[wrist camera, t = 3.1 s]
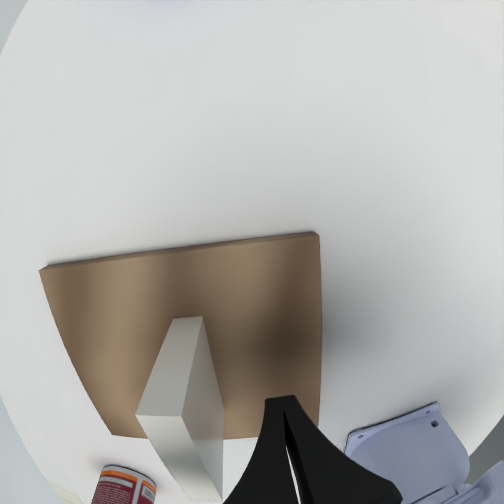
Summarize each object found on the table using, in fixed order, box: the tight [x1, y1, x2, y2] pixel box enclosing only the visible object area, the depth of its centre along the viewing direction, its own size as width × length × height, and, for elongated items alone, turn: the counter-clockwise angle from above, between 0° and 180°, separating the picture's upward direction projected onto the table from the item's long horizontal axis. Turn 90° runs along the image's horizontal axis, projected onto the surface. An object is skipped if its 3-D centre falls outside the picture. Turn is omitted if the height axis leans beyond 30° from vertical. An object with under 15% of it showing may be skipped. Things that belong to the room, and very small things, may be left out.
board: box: [39, 232, 322, 440], centre depth 15 cm, size 16×14×1 cm
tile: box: [135, 316, 224, 501], centre depth 12 cm, size 2×7×7 cm, turn 6°
